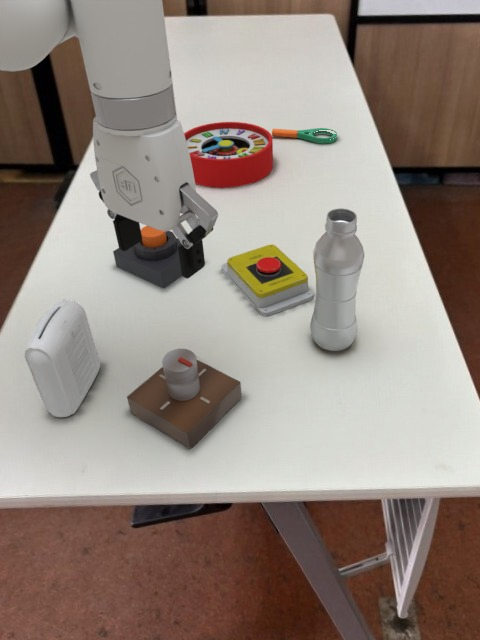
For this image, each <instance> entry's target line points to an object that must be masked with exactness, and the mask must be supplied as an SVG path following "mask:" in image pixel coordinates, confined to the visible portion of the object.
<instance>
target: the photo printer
mask: <svg viewBox="0 0 480 640" xmlns="http://www.w3.org/2000/svg"><path fill="white" fill-rule="evenodd" d="M86 312H87V311H86V310H85V308H84V307H83V306H82V305H81V304H80V303H79V302H78V301H77V300H74V299H66V298H65V299H62V300H60V301H58V302H56V303H55V304H54V305H52V306H51V307H50V308H49V309H48V310H47V311H46V312H45V313H44V314H43V315H42V316H41V318H40V319H39V320H38V322H37V323H36V325H35V327H34V328H33V330H32V332H31V334H30V336H29V338H28V340H27V342H26V346H25V348H24V359H25V362H26V365H27V367H28V369H29V371H30V374H31V376H32V380H33V382H34V385H35V386H36V389H37V391H38V394H39V397H40V399H41V401H42V403H43V406H44V408H45V410H46V411H47V412H49V414H51V416H53V417H56V418H67V417H70V416H71V415H74V414H75V413H76V412H77V410H78V409H79V407H81V405H82V402H83V401H84V399H85V397H86V396H87V394H88V392H89V390H90V388H91V386H92V385H93V383H94V381H95V379H96V377H97V375H98V373H99V371H100V368H101V361H100V358H99V354H98V350H97V347H96V343H95V341H94V337H93V333H92V331H91V330H92V329H91V327H90V322H89V320H88V315H87V313H86Z"/></svg>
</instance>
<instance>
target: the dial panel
mask: <svg viewBox="0 0 480 640" xmlns="http://www.w3.org/2000/svg"><path fill="white" fill-rule="evenodd" d="M196 360H197V367H198V374H199V382H200V391H199V393H198V394H197V395H196V396H195V397H194V398H192V399H190V400H186V401H179V400H175V399H173V398H172V397H170V395H169V394H168V389H167V384H166V379H165V374H164V369H163V366H162V367H161V368H159V369H158V370H157V371H155V372H154V373H153V374H152V375H151V376H150V377H149V378H147V379H146V380H145V381H144V382H142V383H141V384H140V385H139V386H138V387H137V388H135V389H134V390H133V391H132V392H131V393H129V394H128V395H127V396H126V399H127V404H128V407H129V410H130V413H131V414H132V415H134V416H136V417H137V418H139V419H140V420H141V421H144V422H145V423H147V424H149V425H150V426H151V427H153V428H154V429H157V430H158V431H159V432H161V433H163V434H165V435H167V436H168V437H170V438H171V439H173V440H174V441H176V442H178V443H179V444H181V445H183V446H184V447H186V448H188V449H189V450H191V449H193V447H194V446H196V445H197V443H198V442H199V441H201V440H202V439H203V437H204V436H205V435H206V434H208V432H209V431H210V430H212V428H214V426H215V425H216V424H218V422H220V420H221V419H223V418H224V416H225V415H226V414H227V413H228V412H230V411H231V409H232V408H234V407H235V405H236V404H237V403H238V402H239V401H240V400H242V398H243V397H242V383H241V381H240V380H237V379H236V378H234V377H232V376H230V375H228V374H226V373H224V372H222V371H220V370H218V369H216V368H215V367H213V366H210V365H209V364H208V363H207V364H206V363H205V362H204V361H201V360H199V359H198V358H196Z"/></svg>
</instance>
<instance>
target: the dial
mask: <svg viewBox="0 0 480 640" xmlns="http://www.w3.org/2000/svg"><path fill="white" fill-rule="evenodd" d="M196 359H197V356H196V354H195V353H194V352H193V351H192V350H190V349H188V348H176V349H175V348H174V349H172V350H170V351H168V352H167V353H166V354H165V355H164V356H163V357H162V360H161V363H162V367H163V369H164V374H165V379H166V384H167V389H168V394H169V395H170V397H172V398H173V399H175V400H179V401H186V400H190V399H192V398H194V397H195V396H196V395H197V394H198V393H199V391H200V382H199V374H198V367H197V360H198V359H197V360H196Z"/></svg>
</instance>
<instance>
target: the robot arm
mask: <svg viewBox="0 0 480 640" xmlns="http://www.w3.org/2000/svg"><path fill="white" fill-rule="evenodd" d="M163 4H164V3H163V0H0V71H2V72H13V73H14V72H21V71H27V70H29V69H31V68H33V67H35V66H37V65H38V64H39V63H41V62H43V60H44V59H46V57H47V56H48V55H49V54H50V53H51V52H52V51H53V50H54V49H55V48H56V46H59V45H61V44H62V43H64V42H66V41H67V40H69V39H71V38H73V37H76V38H77V39H78V41H79V46H80V51H81V55H82V59H83V65H84V69H85V73H86V77H87V78H86V79H87V83H88V87H89V91H90V96H91V100H92V104H93V107H94V113H95V116H94V118H93V119H92V141H93V152H94V153H93V154H94V159H95V166H96V169H95V170H94V171H92V172H91V173H90V174H89V177H90V180H91V181H92V183H93V185H94V186H95V188H96V190H97V191H98V196H99V199H100V200H101V201H102V203H103V204H104V206H105V207H106V208H107V209H106V213H107V216H108V217H109V218H110V219H111V220H112V223H113V228H114V233H115V237H116V240H117V247H118V248H119V249H120V250H122V251H126V250H128V249H130V248H131V247H133V246H134V245H136V244H137V243H139V242H141V241H142V234H141V229H142V228H141V225H144V226H149V227H152V228H155V229H157V230H161V231H172V232H173V233H174V235H175V236H176V238H178V239H179V241H180V242H181V245H180V246H179V247H178V252H179V259H180V266H181V272H182V276H181V277H182V278H184V279H190V278H191V277H192V276H194V275H195V274H196V273H198V272H199V271H200V270H202V269H203V268H204V267H205V266H206V261H205V251H204V242H203V240H204V239H205V238H206V237H207V236H208V235H210V233H212V232H213V231H214V227H215V224H216V222H217V219H218V217H219V212H218V211H217V209H216V208H215V207H214V206H212V204H210V203H209V202H208V201H207V200H206V199H205V198H204V197H202V196H201V195H200V194H199V193H198V192H197V187H196V184H195V179H194V174H193V168H192V163H191V158H190V154H189V150H188V146H187V142H186V139H185V135H184V133H185V132H184V128H183V126H182V122H181V121H180V120H178V115H177V114H178V113H177V107H176V97H175V91H174V81H173V74H172V68H171V67H172V66H171V60H170V52H169V51H170V50H169V46H168V45H169V44H168V37H167V36H168V35H167V29H166V21H165V12H164V5H163ZM185 221H186V223H187V225H188V226H189V227H190V229H191V231H190V232H187V230H186V229H185V227H184V226H183V222H185ZM140 224H141V225H140Z"/></svg>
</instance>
